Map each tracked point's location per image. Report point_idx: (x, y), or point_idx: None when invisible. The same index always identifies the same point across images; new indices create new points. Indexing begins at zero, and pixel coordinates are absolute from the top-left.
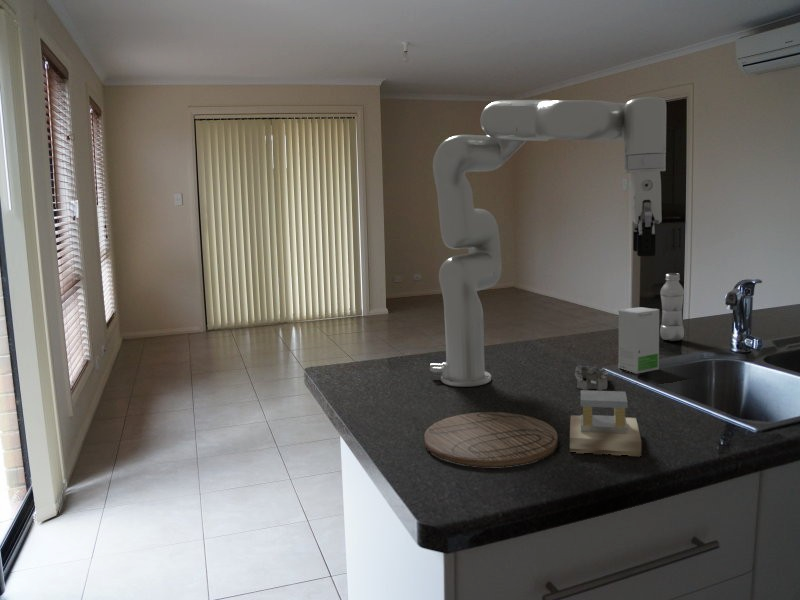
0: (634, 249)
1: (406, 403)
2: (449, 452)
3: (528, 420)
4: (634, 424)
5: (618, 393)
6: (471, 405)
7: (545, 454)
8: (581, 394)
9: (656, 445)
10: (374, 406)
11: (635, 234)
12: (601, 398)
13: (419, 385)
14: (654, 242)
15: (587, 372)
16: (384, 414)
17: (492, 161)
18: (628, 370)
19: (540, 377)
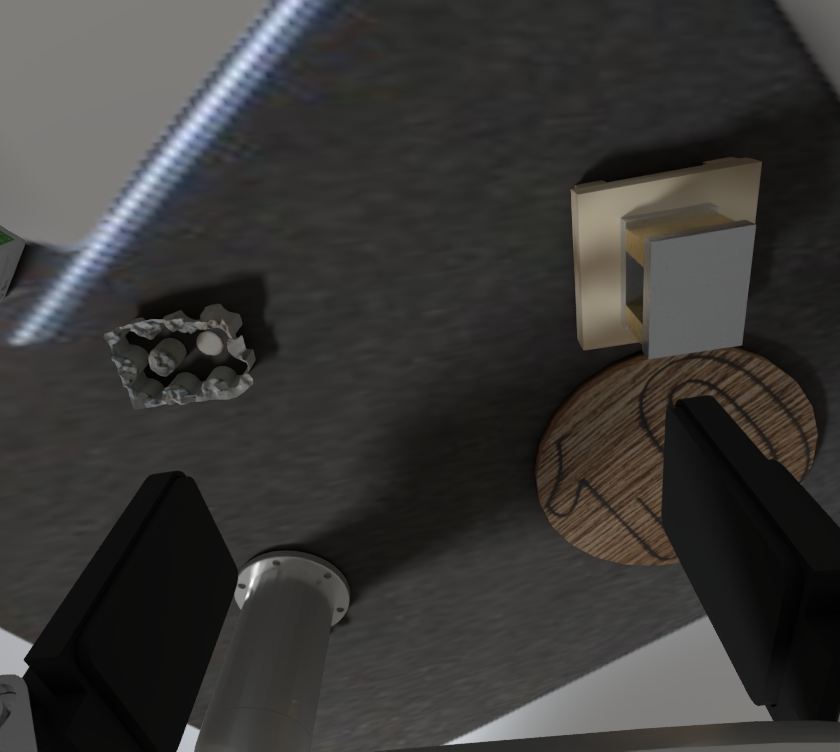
0: (234, 583)
1: (480, 629)
2: None
3: (579, 425)
4: (633, 192)
5: (672, 259)
6: (459, 538)
7: (754, 354)
8: (688, 351)
9: (650, 124)
10: (510, 662)
11: (179, 729)
12: (726, 297)
13: (363, 644)
14: (782, 491)
15: (170, 373)
16: (550, 638)
17: None
18: (14, 269)
19: (196, 467)
